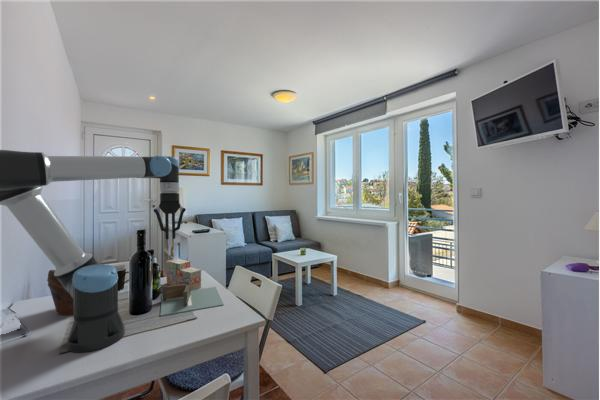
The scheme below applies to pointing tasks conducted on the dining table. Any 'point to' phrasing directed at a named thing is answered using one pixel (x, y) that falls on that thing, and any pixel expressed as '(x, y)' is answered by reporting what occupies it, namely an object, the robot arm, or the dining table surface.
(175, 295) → the bar
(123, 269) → the coffee mug
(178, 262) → the stack of blocks
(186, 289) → the fence gate
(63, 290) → the brown flower pot
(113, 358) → the dining table surface
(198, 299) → the board
